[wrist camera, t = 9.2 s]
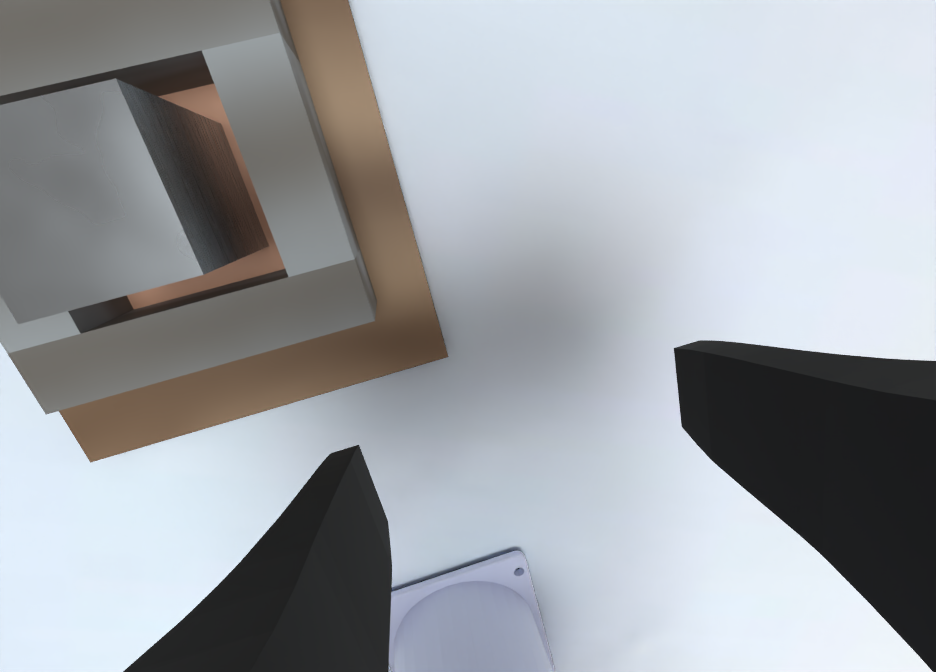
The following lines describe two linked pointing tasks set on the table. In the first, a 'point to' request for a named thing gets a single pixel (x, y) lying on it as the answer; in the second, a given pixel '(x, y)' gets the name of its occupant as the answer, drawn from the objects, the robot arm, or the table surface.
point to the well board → (277, 207)
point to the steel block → (113, 198)
